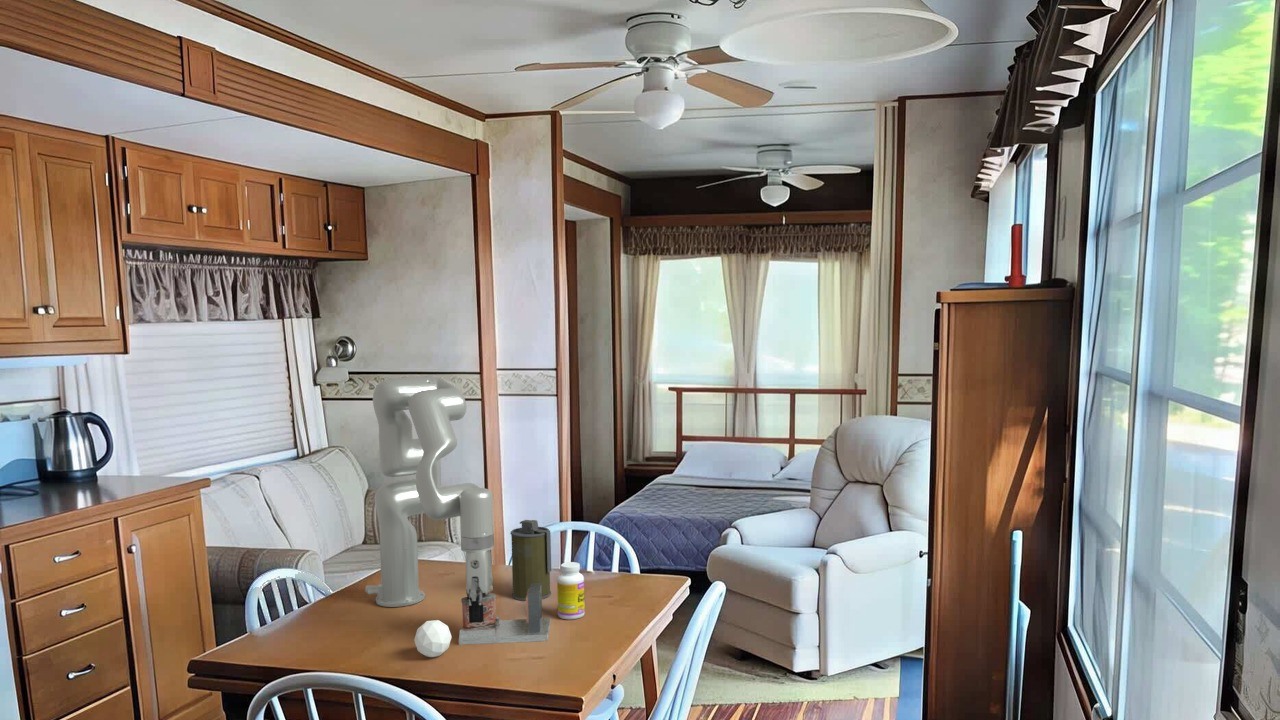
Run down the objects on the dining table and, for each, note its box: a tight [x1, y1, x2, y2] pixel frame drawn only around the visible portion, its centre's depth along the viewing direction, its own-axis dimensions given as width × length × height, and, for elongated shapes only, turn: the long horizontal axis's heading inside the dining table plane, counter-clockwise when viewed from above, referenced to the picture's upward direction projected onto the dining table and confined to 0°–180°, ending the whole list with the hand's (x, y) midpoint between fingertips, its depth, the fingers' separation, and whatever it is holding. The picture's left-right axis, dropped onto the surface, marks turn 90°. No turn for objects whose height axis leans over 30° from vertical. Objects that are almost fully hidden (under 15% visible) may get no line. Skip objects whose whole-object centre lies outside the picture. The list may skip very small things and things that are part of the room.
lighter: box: [460, 584, 497, 629], centre depth 194 cm, size 8×3×10 cm, turn 115°
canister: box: [509, 519, 552, 602], centre depth 223 cm, size 11×10×20 cm
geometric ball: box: [414, 619, 453, 658], centre depth 182 cm, size 8×8×8 cm
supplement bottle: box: [556, 561, 586, 621], centre depth 206 cm, size 7×7×13 cm
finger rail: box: [458, 583, 551, 646], centre depth 194 cm, size 20×11×10 cm, turn 93°
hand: (479, 614), depth 194 cm, fingers open, 9 cm apart
